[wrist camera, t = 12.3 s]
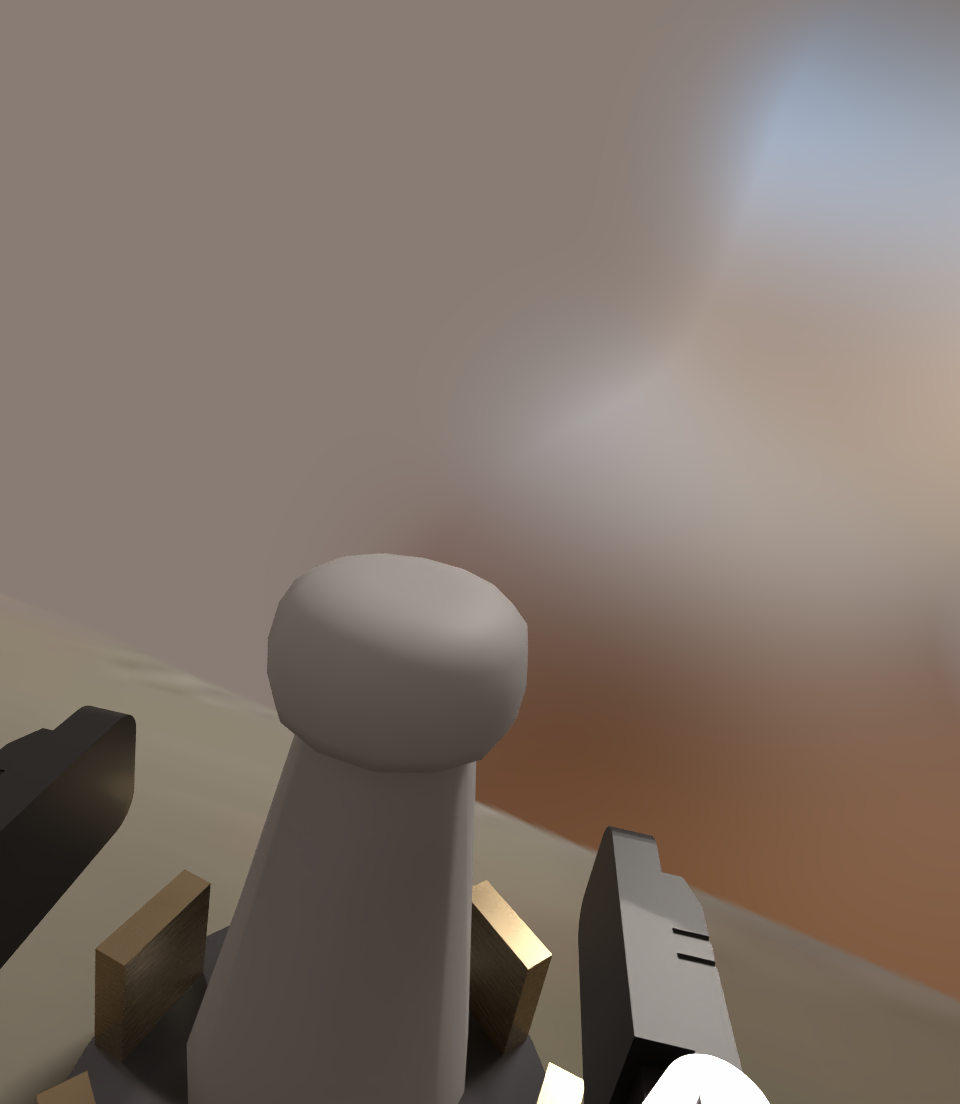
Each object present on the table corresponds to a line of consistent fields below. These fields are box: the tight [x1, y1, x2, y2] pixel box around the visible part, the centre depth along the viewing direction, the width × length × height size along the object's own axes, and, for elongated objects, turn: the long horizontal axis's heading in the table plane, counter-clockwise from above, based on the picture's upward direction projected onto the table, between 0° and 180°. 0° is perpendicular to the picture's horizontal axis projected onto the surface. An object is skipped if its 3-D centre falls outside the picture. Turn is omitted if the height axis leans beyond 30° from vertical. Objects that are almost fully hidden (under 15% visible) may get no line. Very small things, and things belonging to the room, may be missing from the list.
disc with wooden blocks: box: [36, 870, 584, 1104], centre depth 16 cm, size 11×11×4 cm
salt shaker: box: [187, 553, 528, 1104], centre depth 14 cm, size 6×6×13 cm
